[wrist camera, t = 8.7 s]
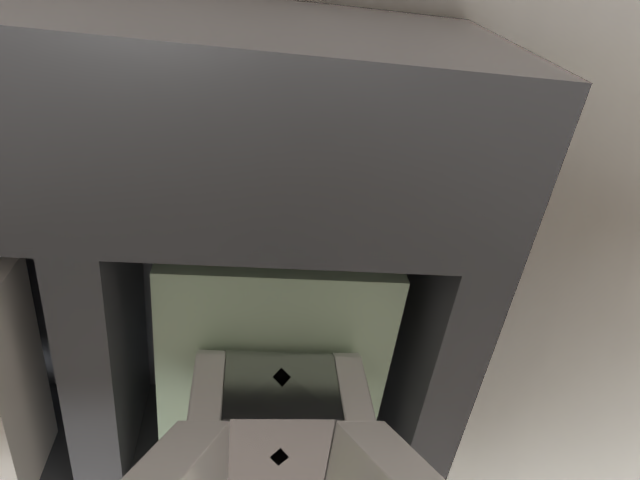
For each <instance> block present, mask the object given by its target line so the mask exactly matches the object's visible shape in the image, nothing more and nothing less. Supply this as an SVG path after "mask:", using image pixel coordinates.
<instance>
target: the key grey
mask: <svg viewBox="0 0 640 480" xmlns="http://www.w3.org/2000/svg"><path fill="white" fill-rule="evenodd" d="M57 433H58V428H57V423H56V417H55V412H54V407H53V402H52V396H51V391H50V386H49V381H48V375H47V370H46V365H45V360H44V354H43V349H42V344H41V339H40V333H39V328H38V323H37V317H36V312H35V307H34V302H33V296H32V291H31V286H30V281H29V275H28V270H27V265H26V260H25V258H9V257H0V480H39V479H40V477H41V474H42V472H43V469H44V466H45V464H46V461H47V459H48V456H49V453H50V451H51V448H52V446H53V443H54V440H55V438H56V435H57Z"/></svg>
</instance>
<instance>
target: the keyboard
mask: <svg viewBox="0 0 640 480" xmlns="http://www.w3.org/2000/svg"><path fill="white" fill-rule="evenodd" d="M591 85H592V83H591V82H589V81H587V80H585V79H583V78H581V77H579V76H577V75H575V74H573V73H571V72H569V71H567V70H565V69H563V68H561V67H560V66H558V65H556V64H554V63H552V62H550V61H548V60H546V59H544V58H542V57H540V56H538V55H536V54H534V53H532V52H530V51H528V50H526V49H525V48H523V47H521V46H519V45H517V44H515V43H513V42H511V41H509V40H507V39H505V38H503V37H501V36H499V35H497V34H495V33H493V32H491V31H490V30H488V29H486V28H484V27H482V26H480V25H478V24H476V23H474V22H472V21H470V20H466V19H457V18H448V17H439V16H431V15H422V14H413V13H404V12H395V11H386V10H377V9H368V8H359V7H351V6H342V5H333V4H324V3H315V2H306V1H297V0H0V257H9V258H25V260H26V265H27V270H28V275H29V281H30V286H31V291H32V296H33V302H34V307H35V312H36V317H37V323H38V328H39V333H40V339H41V344H42V349H43V354H44V360H45V365H46V370H47V375H48V381H49V386H50V391H51V396H52V402H53V407H54V412H55V417H56V423H57V428H58V433H57V435H56V438H55V440H54V443H53V446H52V448H51V451H50V453H49V456H48V459H47V461H46V464H45V466H44V469H43V472H42V474H41V477H40V479H39V480H121V479H122V477H123V476H124V475H125V474H126V473H127V472H128V471H129V470H130V469H131V468H132V467H133V466H134V465H135V464H136V463H137V462H138V461H139V460H140V459H141V458H142V457H143V456H144V455H145V454H146V453H147V452H148V451H149V450H150V449H151V448H152V447H153V446H154V445H155V444H156V443H157V442H158V441H159V439H158V420H157V401H156V382H155V363H154V344H153V325H152V306H151V287H150V271H151V268H152V265H153V263H154V264H178V265H203V266H227V267H251V268H275V269H299V270H324V271H348V272H372V273H396V274H406V275H407V277H408V280H409V282H410V286H409V290H408V294H407V298H406V302H405V307H404V311H403V315H402V319H401V323H400V327H399V331H398V335H397V339H396V343H395V347H394V352H393V356H392V360H391V364H390V368H389V372H388V376H387V380H386V384H385V388H384V392H383V397H382V401H381V405H380V409H379V413H378V417H377V421H385V422H386V423H387V424H388V425H389V426H390V427H391V428H392V429H393V430H394V431H395V432H396V433H397V434H398V435H399V436H401V437H402V438H403V439H404V440H405V441H406V442H407V443H408V444H409V445H410V446H411V447H412V448H413V449H414V450H415V451H416V452H417V453H418V454H419V455H420V456H421V457H422V458H423V459H424V460H426V461H427V462H428V463H429V464H430V465H431V466H432V467H433V468H434V469H435V470H436V471H437V472H438V473H439V474H440V475H441V476H442V477H443V478H444V479H445V480H446V479H447V476H448V473H449V470H450V468H451V465H452V462H453V460H454V457H455V454H456V451H457V449H458V446H459V443H460V441H461V438H462V435H463V432H464V430H465V427H466V424H467V422H468V419H469V416H470V413H471V411H472V408H473V405H474V403H475V400H476V397H477V394H478V392H479V389H480V386H481V384H482V381H483V378H484V375H485V373H486V370H487V367H488V365H489V362H490V359H491V356H492V354H493V351H494V348H495V346H496V343H497V340H498V337H499V335H500V332H501V329H502V327H503V324H504V321H505V318H506V316H507V313H508V310H509V308H510V305H511V302H512V299H513V297H514V294H515V291H516V289H517V286H518V283H519V280H520V278H521V275H522V272H523V270H524V267H525V264H526V261H527V259H528V256H529V253H530V250H531V248H532V245H533V242H534V240H535V237H536V234H537V231H538V229H539V226H540V223H541V221H542V218H543V215H544V212H545V210H546V207H547V204H548V202H549V199H550V196H551V193H552V191H553V188H554V185H555V183H556V180H557V177H558V174H559V172H560V169H561V166H562V164H563V161H564V158H565V155H566V153H567V150H568V147H569V145H570V142H571V139H572V136H573V134H574V131H575V128H576V126H577V123H578V120H579V117H580V115H581V112H582V109H583V107H584V104H585V101H586V98H587V96H588V93H589V90H590V88H591Z"/></svg>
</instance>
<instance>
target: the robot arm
mask: <svg viewBox="0 0 640 480" xmlns="http://www.w3.org/2000/svg"><path fill="white" fill-rule="evenodd" d="M121 480H445V479H444V478H443V477H442V476H441V475H440V474H439V473H438V472H437V471H436V470H435V469H434V468H433V467H432V466H431V465H430V464H429V463H428V462H427V461H426V460H424V459H423V458H422V457H421V456H420V455H419V454H418V453H417V452H416V451H415V450H414V449H413V448H412V447H411V446H410V445H409V444H408V443H407V442H406V441H405V440H404V439H403V438H402V437H401V436H399V435H398V434H397V433H396V432H395V431H394V430H393V429H392V428H391V427H390V426H389V425H388V424H387V423H386V422H385V421H376V417H375V412H374V408H373V404H372V400H371V396H370V391H369V387H368V383H367V379H366V375H365V370H364V366H363V362H362V358H361V356H360V354H359V353H332V354H331V353H294V352H257V351H234V350H227V351H220V350H200V349H198V351H197V354H196V357H195V365H194V372H193V379H192V386H191V393H190V400H189V407H188V414H187V420H184V421H177V422H176V423H175V424H174V425H173V426H172V427H171V428H170V429H169V430H168V431H167V432H166V433H165V434H164V435H163V436H162V437H161V438H160V440H159V441H158V442H157V443H156V444H155V445H154V446H153V447H152V448H151V449H150V450H149V451H148V452H147V453H146V454H145V455H144V456H143V457H142V458H141V459H140V460H139V461H138V462H137V463H136V464H135V465H134V466H133V467H132V468H131V469H130V470H129V471H128V472H127V473H126V474H125V475H124V476H123V477H122V479H121Z"/></svg>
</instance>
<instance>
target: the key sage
mask: <svg viewBox="0 0 640 480" xmlns="http://www.w3.org/2000/svg"><path fill="white" fill-rule="evenodd" d="M409 286H410V282H409V280H408V277H407V275H406V274H396V273H372V272H348V271H324V270H299V269H275V268H251V267H227V266H203V265H178V264H154V263H153V265H152V268H151V271H150V287H151V306H152V325H153V344H154V363H155V382H156V401H157V420H158V439H159V440H160V438H161V437H162V436H163V435H164V434H165V433H166V432H167V431H168V430H169V429H170V428H171V427H172V426H173V425H174V424H175V423H176V422H177V421H184V420H187V414H188V407H189V400H190V393H191V386H192V379H193V372H194V365H195V357H196V354H197V351H198V349H200V350H220V351H227V350H234V351H257V352H294V353H331V354H332V353H359V354H360V356H361V358H362V362H363V366H364V370H365V375H366V379H367V383H368V387H369V391H370V396H371V400H372V404H373V408H374V412H375V417H376V421H377V417H378V413H379V409H380V405H381V401H382V397H383V392H384V388H385V384H386V380H387V376H388V372H389V368H390V364H391V360H392V356H393V352H394V347H395V343H396V339H397V335H398V331H399V327H400V323H401V319H402V315H403V311H404V307H405V302H406V298H407V294H408V290H409Z"/></svg>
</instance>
